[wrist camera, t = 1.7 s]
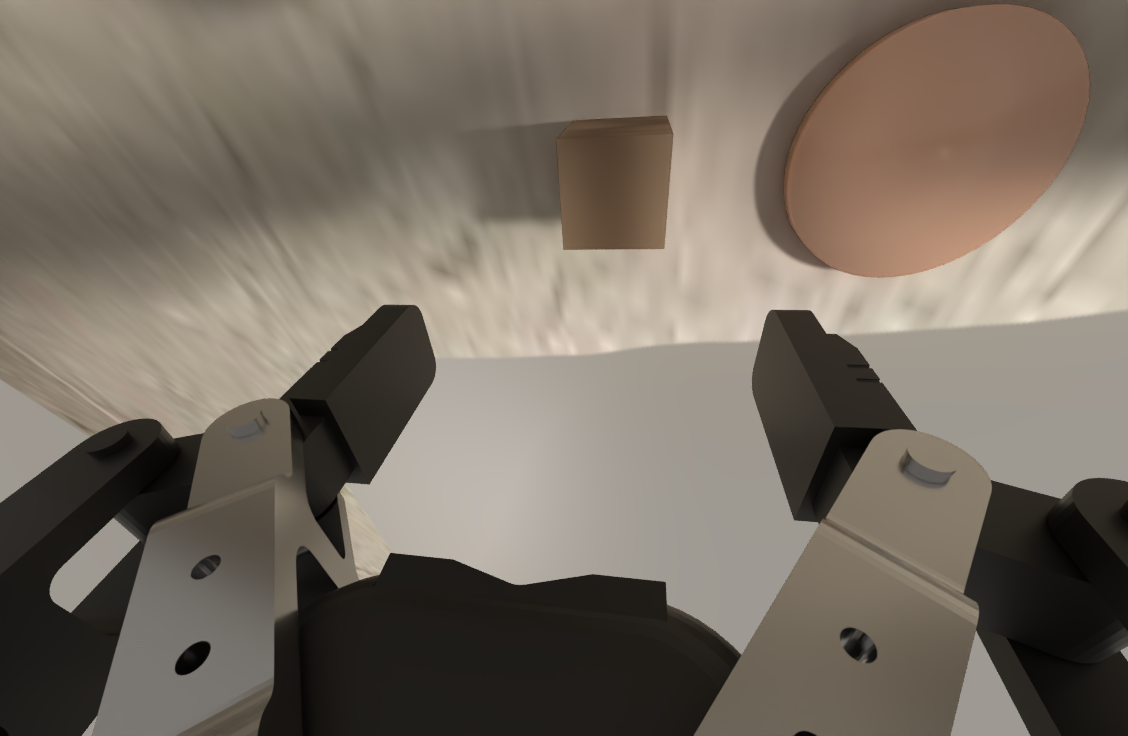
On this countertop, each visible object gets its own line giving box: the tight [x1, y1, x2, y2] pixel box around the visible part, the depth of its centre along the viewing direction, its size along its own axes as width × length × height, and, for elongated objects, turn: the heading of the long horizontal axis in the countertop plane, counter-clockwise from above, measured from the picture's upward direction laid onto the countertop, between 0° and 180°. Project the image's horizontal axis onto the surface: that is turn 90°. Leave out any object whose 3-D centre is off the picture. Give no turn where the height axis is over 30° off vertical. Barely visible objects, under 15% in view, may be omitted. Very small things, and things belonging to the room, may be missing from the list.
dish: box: [783, 4, 1090, 278], centre depth 22 cm, size 12×12×2 cm
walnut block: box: [556, 116, 673, 250], centre depth 22 cm, size 5×5×6 cm
